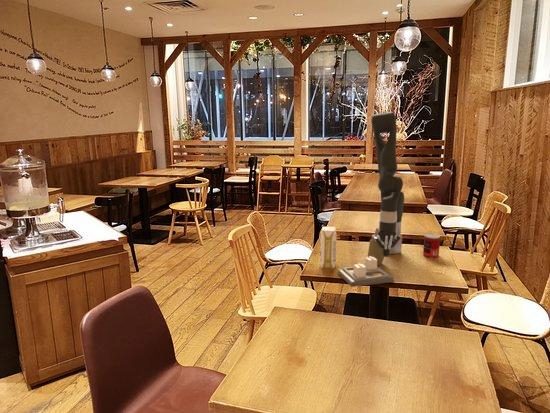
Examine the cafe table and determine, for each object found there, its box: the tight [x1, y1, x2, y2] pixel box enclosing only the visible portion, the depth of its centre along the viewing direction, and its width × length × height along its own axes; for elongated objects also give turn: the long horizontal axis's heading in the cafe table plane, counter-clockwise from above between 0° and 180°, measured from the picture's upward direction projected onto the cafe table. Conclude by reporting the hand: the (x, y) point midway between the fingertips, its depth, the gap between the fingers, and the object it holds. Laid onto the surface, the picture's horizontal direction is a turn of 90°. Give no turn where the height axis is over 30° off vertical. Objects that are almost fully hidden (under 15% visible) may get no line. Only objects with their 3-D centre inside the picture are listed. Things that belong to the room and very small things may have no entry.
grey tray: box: [337, 264, 395, 288], centre depth 188 cm, size 20×15×3 cm
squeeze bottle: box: [367, 227, 385, 266], centre depth 204 cm, size 8×8×18 cm
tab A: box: [364, 256, 378, 270], centre depth 192 cm, size 4×4×6 cm
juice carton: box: [319, 226, 337, 270], centre depth 201 cm, size 8×9×19 cm
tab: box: [353, 262, 366, 278], centre depth 183 cm, size 4×4×6 cm
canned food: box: [422, 233, 441, 259], centre depth 215 cm, size 8×8×11 cm
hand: (385, 256), depth 193 cm, fingers closed
